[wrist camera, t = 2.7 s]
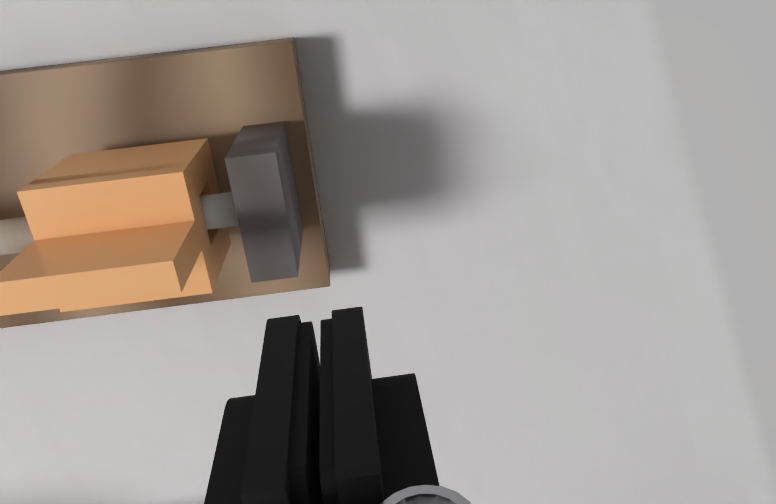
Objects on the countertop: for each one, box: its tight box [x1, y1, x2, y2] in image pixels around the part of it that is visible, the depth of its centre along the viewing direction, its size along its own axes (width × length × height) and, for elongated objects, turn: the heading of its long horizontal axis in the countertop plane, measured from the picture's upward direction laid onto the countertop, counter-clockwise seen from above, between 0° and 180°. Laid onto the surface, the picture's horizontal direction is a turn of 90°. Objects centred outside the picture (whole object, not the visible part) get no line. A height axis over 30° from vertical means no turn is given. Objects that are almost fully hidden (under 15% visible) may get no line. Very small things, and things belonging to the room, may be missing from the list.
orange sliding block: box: [0, 138, 231, 316], centre depth 20 cm, size 5×4×7 cm
